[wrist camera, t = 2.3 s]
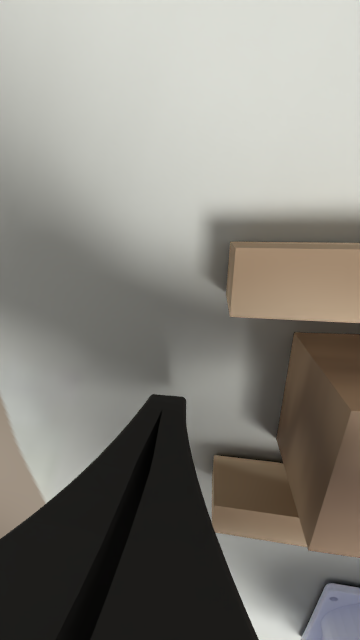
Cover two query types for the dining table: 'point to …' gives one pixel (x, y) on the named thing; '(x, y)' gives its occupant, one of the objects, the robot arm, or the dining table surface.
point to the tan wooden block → (324, 439)
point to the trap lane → (290, 304)
